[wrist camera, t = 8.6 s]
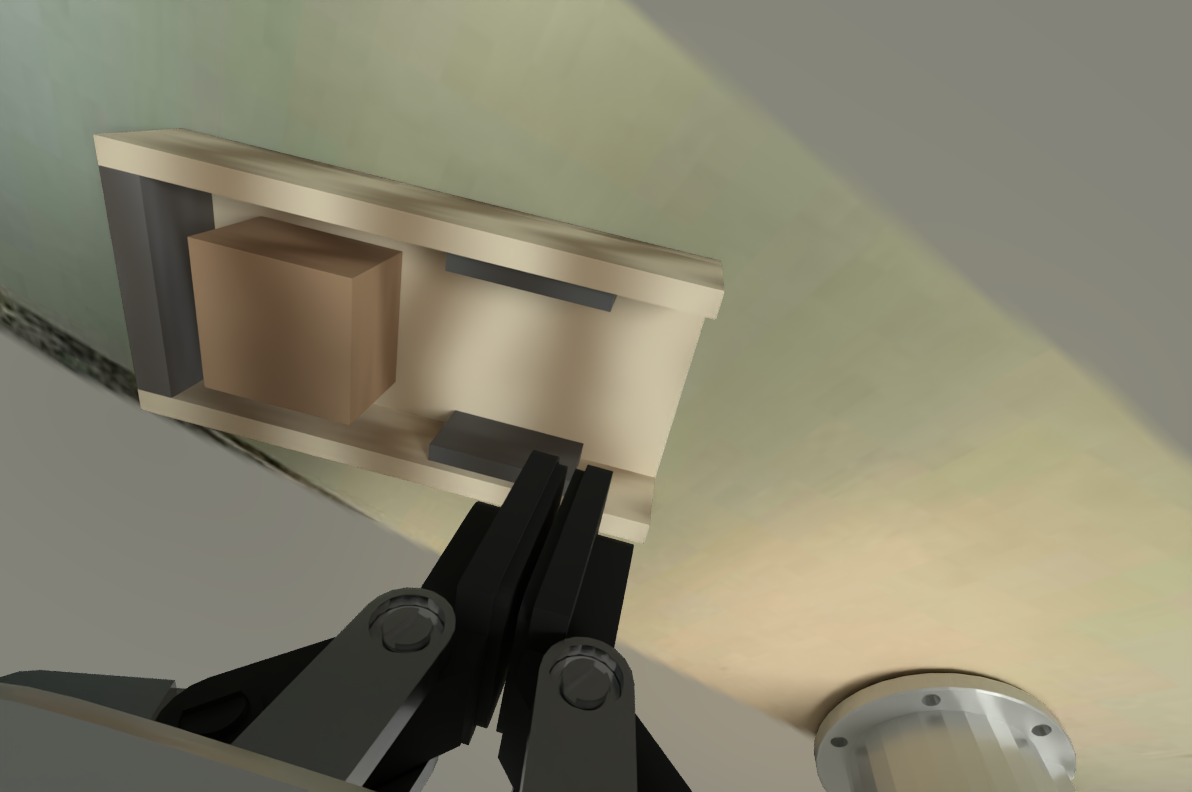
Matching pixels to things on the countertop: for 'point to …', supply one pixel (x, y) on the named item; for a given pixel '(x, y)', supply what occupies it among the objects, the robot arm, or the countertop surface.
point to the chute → (425, 321)
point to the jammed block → (296, 316)
